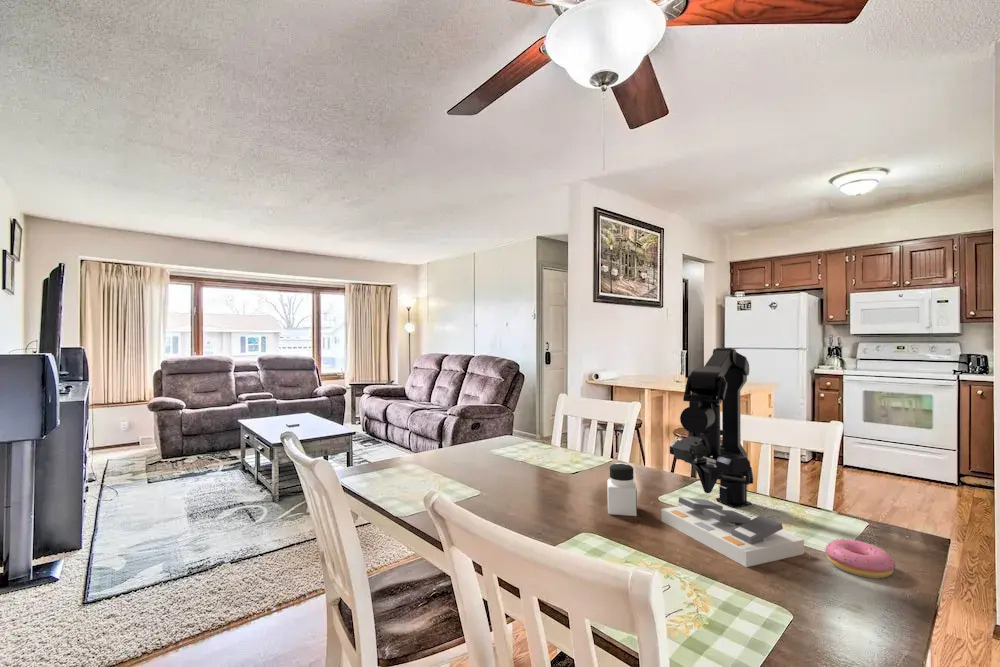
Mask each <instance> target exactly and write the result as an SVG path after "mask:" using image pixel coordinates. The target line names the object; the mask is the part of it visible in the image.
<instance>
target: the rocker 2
mask: <svg viewBox="0 0 1000 667" xmlns="http://www.w3.org/2000/svg"><path fill="white" fill-rule="evenodd" d="M753 518H754V519H752V520H750V521H748V522H746V523H744V524H742V525H740V526H738V527H736V528H734V529H732V530H731V533H732V535H733V536H735V537H737V538H739V539H741V540H743V541H745V542H747V543H749V544H751V545H752V544H754V543H756V542H758V541H760V540H762V539H764V538H766V537H768V536H770V535H772V534H774V533H776V532H778V531H780V530H782V531H783V528H784V527H783V523H782V522H779V521H777V520H774V519H772V518H769V517H768V516H764V515H763V514H762V515H759V516H756V517H753Z"/></svg>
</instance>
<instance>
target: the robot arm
mask: <svg viewBox="0 0 1000 667" xmlns="http://www.w3.org/2000/svg"><path fill="white" fill-rule="evenodd" d="M749 374H750V363H749V361H748V359H747V357H746V356H745V355H742V354H741V353H739V352H738V351H736V349H735V348H732V347H716V348H713V350H712V354H711V356H710V358H709V359H708V360H707V362H706V363H705V364H704V366H700V367H696V368H695V369H694V370H692V371H691V372H690V373H689V375H687V378H686V384H685V388H684V393H683V399H682V400H683V402H688V403H689V405H688V407H685V408H684V409H683V410H682V412H681V414H680V416H679V421H680V424H681V426H682V427H683V429H684V430H686V431H687V432H688V436H687V437H684V438H682V439H681V440H678V441H672V442H671V443H670V445H669V455H673V456H674V457H675V459H676V460H678V461H679V460H680V461H683V462H685V463H687V464H689V465H691V466H692V467H693V468H694V469H695V471H696V473H697V475H698V478H699V481H700V483H701V486H702V489H703V491H704V492H703V493H705V494H711V493H712V492H713V489H714V487H715V485H716V483H717V482H718V481H720V482H719V487H718V488H719V489H718V490H719V497H716V498H715V500H716V501H718V502H720V503H722V504H725V505H727V506H730V507H731V508H739V507H745V506H747V507H748V506H752V504H753V503H752V502H750V501H748V498H747V496H748V493H747V490H748V489H747V487H748V485H750V484H751V485H752V484H754V475H753V474H754V473H753V469H752V467H751V461H750V459H748V454H747V451H746V449H745V448H744V447H743V445H742V443H741V438H742V437H741V435H742V434H741V390H742V389H743V387H745V385H746V383H747V381H748V376H749ZM721 404H722V406H720V405H721ZM721 410H722V411H721ZM721 412H722V413H721ZM721 414H722V415H721ZM721 417H722V419H721ZM721 420H722V425H721ZM721 426H722V428H721ZM721 439H722V442H721ZM721 443H722V444H721Z"/></svg>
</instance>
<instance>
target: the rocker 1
mask: <svg viewBox="0 0 1000 667" xmlns="http://www.w3.org/2000/svg"><path fill="white" fill-rule="evenodd" d="M711 501H712V500H709V499H701V498H700V499H699V498H690V497H680V496H679V498H678V503H679V504H681V505H682V506H683V505H685V506H688V507H690V508H692V509H697V510H703V508H705V509H717V510H723V506H724V505H723V506H720V505H721V504H720V505H718V504H719V503H718V504H716V503H717V502H716V503H713V502H714V501H713V502H711Z"/></svg>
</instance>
